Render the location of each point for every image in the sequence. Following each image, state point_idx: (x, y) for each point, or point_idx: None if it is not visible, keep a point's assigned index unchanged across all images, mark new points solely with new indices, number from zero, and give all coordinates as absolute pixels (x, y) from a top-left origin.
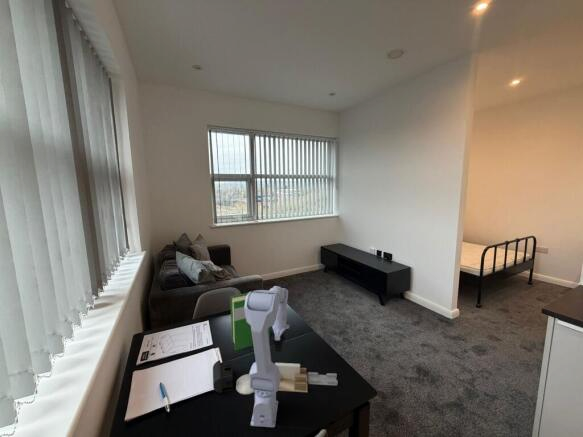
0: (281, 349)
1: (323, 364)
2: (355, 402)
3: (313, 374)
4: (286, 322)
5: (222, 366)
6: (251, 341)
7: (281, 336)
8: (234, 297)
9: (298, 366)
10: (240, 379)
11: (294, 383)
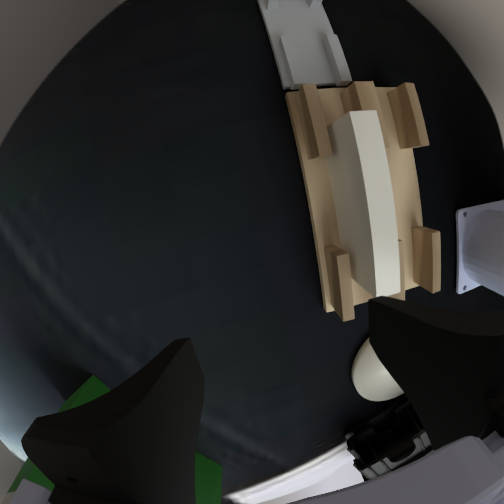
0: (398, 299)
1: (175, 37)
2: None
3: (297, 56)
4: (23, 447)
5: (393, 467)
6: None
7: (501, 390)
8: None
9: (376, 119)
10: (383, 393)
11: (428, 144)
